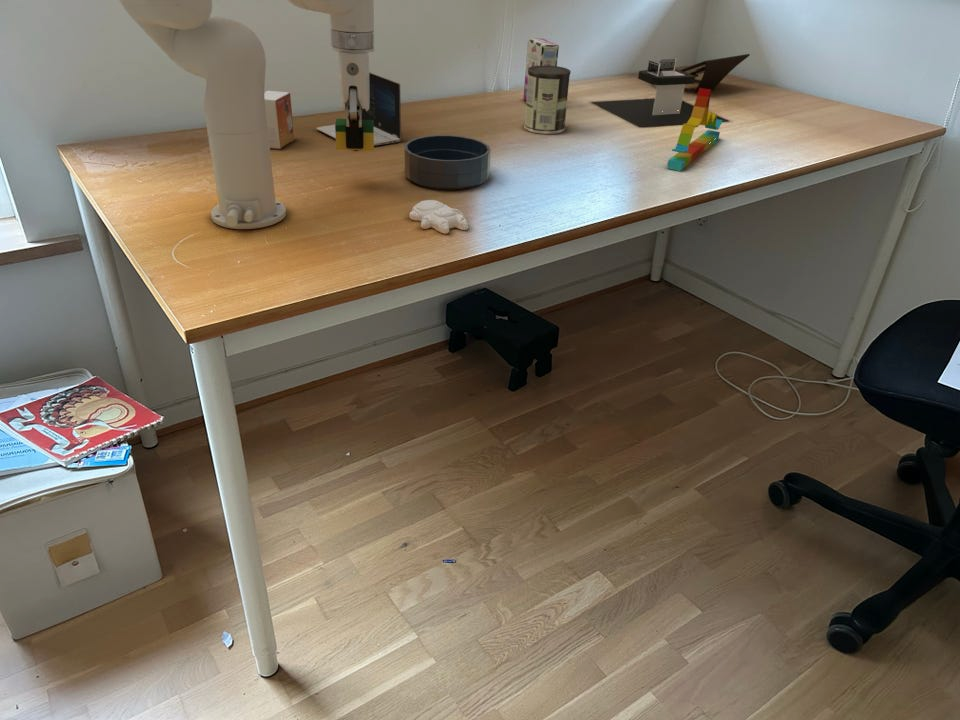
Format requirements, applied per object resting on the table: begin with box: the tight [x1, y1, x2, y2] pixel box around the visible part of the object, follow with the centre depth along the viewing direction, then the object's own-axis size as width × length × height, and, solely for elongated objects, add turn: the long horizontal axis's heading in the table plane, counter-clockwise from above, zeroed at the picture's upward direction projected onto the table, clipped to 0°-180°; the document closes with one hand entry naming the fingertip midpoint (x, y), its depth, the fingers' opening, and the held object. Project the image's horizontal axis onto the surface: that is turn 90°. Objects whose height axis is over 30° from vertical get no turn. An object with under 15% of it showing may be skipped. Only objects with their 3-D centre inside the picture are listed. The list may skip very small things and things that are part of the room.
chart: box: [666, 88, 724, 172], centre depth 167 cm, size 30×3×15 cm, turn 149°
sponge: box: [334, 118, 375, 151], centre depth 138 cm, size 5×7×4 cm
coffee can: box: [523, 65, 572, 135], centre depth 180 cm, size 10×10×14 cm
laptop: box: [315, 71, 402, 147], centre depth 168 cm, size 18×12×13 cm
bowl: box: [403, 134, 492, 191], centre depth 149 cm, size 17×17×6 cm
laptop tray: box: [680, 53, 750, 93], centre depth 228 cm, size 23×23×9 cm
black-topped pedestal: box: [592, 58, 730, 128], centre depth 200 cm, size 28×26×13 cm
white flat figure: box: [408, 199, 469, 235], centre depth 129 cm, size 9×12×3 cm
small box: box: [264, 90, 295, 150], centre depth 161 cm, size 8×6×10 cm
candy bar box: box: [522, 37, 560, 102], centre depth 200 cm, size 11×5×16 cm, turn 17°
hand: (355, 143), depth 139 cm, fingers closed on sponge, 4 cm apart
